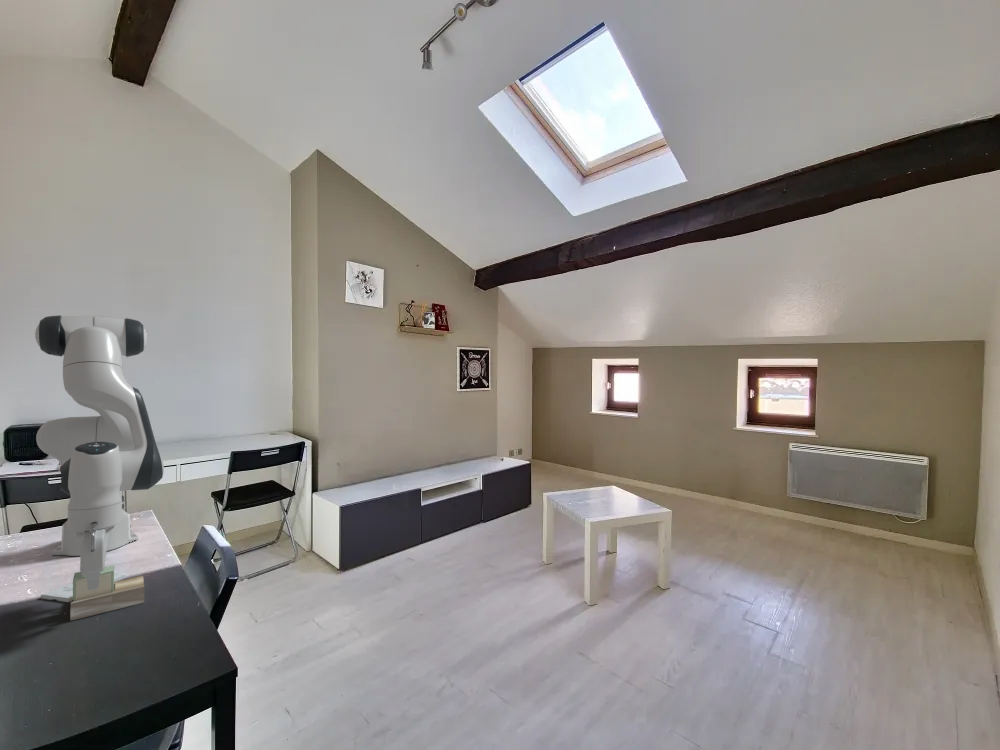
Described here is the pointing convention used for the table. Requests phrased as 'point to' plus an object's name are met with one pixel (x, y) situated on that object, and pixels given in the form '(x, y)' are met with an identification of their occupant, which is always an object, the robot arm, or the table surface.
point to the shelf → (110, 599)
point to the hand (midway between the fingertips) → (94, 579)
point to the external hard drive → (70, 591)
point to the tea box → (83, 593)
